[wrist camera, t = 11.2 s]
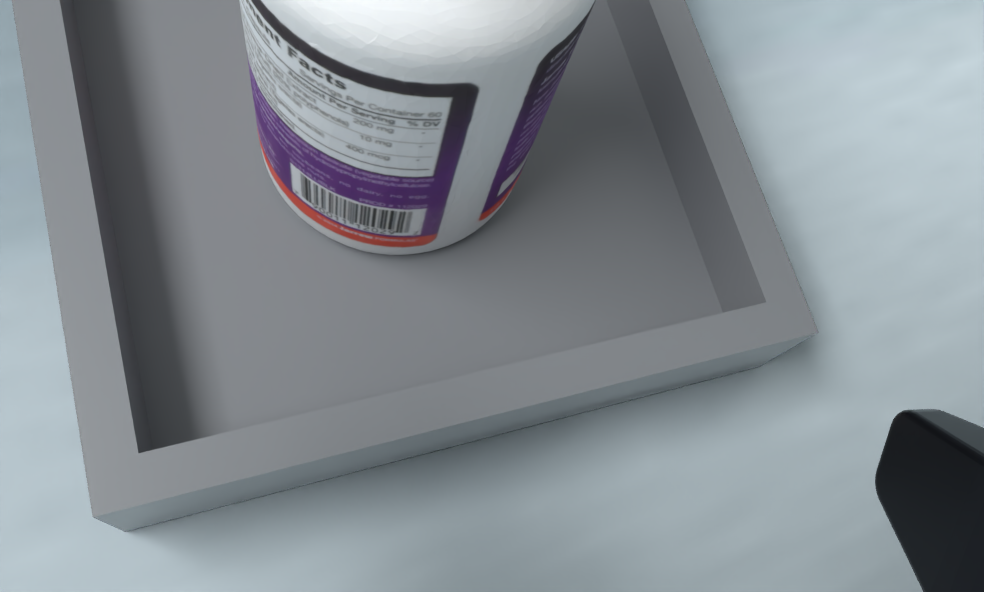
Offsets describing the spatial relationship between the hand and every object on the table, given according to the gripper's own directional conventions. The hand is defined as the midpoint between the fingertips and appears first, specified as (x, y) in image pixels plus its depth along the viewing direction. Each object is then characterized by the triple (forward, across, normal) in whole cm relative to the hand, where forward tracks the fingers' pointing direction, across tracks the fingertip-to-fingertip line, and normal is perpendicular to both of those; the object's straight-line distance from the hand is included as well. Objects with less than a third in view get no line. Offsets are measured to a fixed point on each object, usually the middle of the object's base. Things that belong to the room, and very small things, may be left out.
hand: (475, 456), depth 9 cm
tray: (+12, 0, 0) cm, 12 cm away
